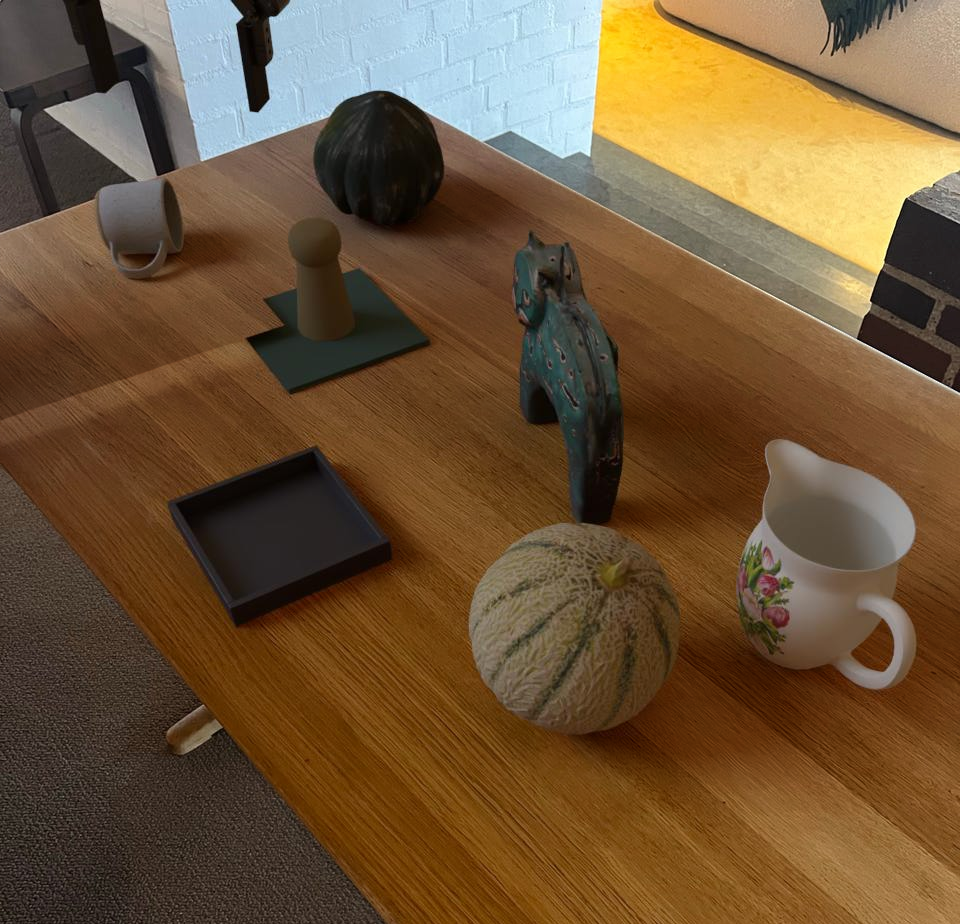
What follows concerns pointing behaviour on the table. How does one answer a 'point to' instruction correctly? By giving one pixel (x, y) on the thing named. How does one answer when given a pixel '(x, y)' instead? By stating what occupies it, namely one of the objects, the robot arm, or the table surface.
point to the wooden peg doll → (320, 281)
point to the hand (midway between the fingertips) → (183, 96)
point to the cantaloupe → (575, 628)
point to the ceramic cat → (570, 373)
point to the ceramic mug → (140, 222)
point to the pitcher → (825, 567)
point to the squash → (379, 158)
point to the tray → (278, 534)
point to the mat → (318, 361)
